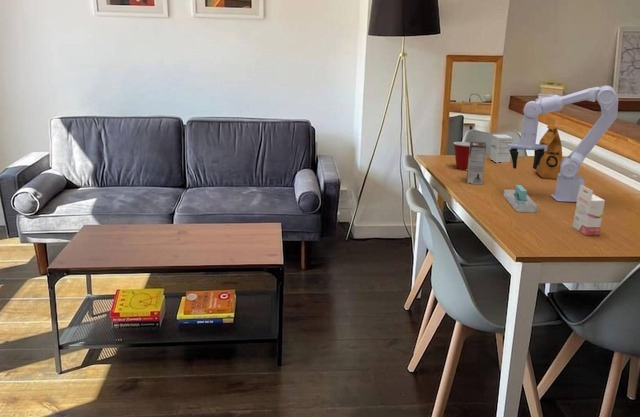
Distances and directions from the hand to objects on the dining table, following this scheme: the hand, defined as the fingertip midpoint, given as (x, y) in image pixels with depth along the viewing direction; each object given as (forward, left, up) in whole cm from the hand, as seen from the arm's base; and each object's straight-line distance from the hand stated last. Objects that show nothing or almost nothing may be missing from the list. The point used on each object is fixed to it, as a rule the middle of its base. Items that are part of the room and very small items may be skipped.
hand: (524, 168), depth 227 cm
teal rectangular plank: (+4, +13, -10) cm, 17 cm away
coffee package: (-19, -30, -11) cm, 37 cm away
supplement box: (-4, -55, -11) cm, 56 cm away
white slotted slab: (+4, +13, -10) cm, 17 cm away
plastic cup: (+16, -39, -11) cm, 43 cm away
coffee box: (+15, -17, -11) cm, 25 cm away
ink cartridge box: (-10, +41, -11) cm, 44 cm away
